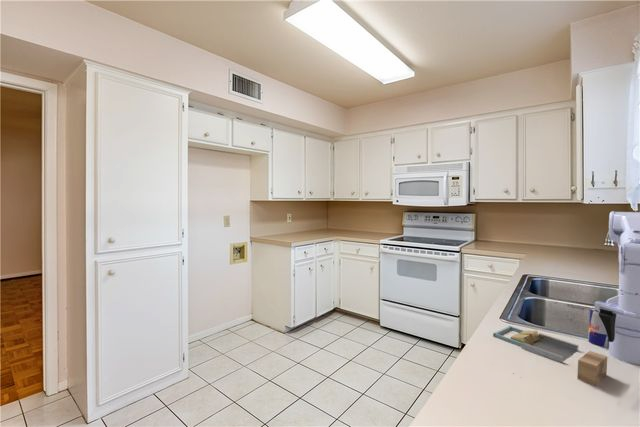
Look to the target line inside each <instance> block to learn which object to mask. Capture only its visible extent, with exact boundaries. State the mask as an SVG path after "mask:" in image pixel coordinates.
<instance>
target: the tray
mask: <svg viewBox="0 0 640 427" xmlns="http://www.w3.org/2000/svg"><path fill="white" fill-rule="evenodd" d="M509 331H513V332H516V333H517V334H519V333H521V332H523V331H525V330H523V329H520V328H517V327H514V326H511V325H509V326H507V327H505V328H502V329H500V330H498V331H495V332H493V333H492V334H493V335H492V336H493V337H494V338H496V339H500V340H502V341H505V342H507V343H509V344H513V345H516V346H518V347H521V345H522V343H521V342H519V341H516V340H513V339H511V337H507V336H505V335H503V334H505V333H507V332H509Z"/></svg>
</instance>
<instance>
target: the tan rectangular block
mask: <svg viewBox="0 0 640 427" xmlns="http://www.w3.org/2000/svg"><path fill="white" fill-rule="evenodd" d="M607 369H608V356H607V355H605V354H602V353H598V352H595V351H592V350H589V351H588V352H586V353H585V354H584V355H583V356H581V357H580V358H578V360H577V376H576V377H577V380H579V381H582V382H583V383H586V384H590V385H592V386H594V387H596V386H597V385H598V384H599V383H600V382H601V381H603V379H604V378H605V377H607V371H608V370H607Z"/></svg>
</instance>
